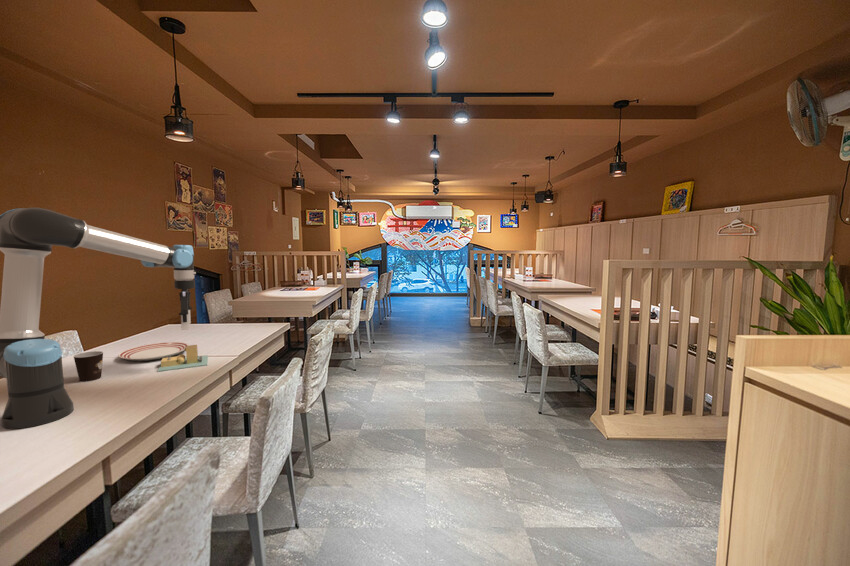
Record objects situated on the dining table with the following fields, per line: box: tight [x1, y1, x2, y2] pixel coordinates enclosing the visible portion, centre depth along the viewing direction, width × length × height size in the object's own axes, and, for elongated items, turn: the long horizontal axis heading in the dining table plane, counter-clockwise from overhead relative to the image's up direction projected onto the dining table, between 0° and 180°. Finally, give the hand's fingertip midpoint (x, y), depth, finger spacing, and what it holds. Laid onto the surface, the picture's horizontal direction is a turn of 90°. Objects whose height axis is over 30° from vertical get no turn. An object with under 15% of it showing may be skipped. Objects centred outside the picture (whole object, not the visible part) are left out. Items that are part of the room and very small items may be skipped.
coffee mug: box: [73, 350, 104, 383], centre depth 145 cm, size 12×9×10 cm
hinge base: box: [157, 353, 209, 373], centre depth 164 cm, size 16×18×4 cm
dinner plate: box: [118, 341, 189, 362], centre depth 176 cm, size 28×27×3 cm
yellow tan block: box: [184, 344, 198, 364], centre depth 165 cm, size 6×5×7 cm
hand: (186, 326), depth 163 cm, fingers open, 13 cm apart
